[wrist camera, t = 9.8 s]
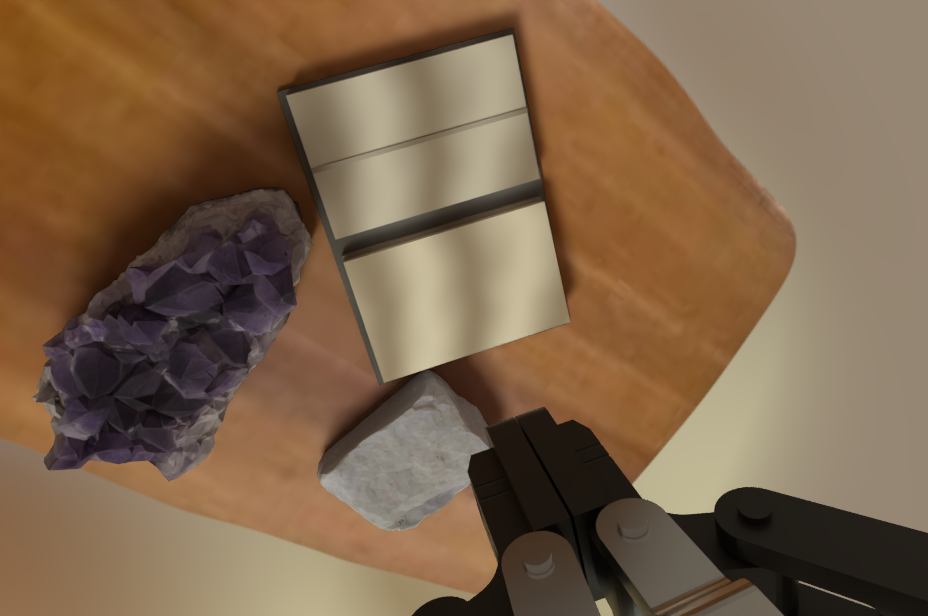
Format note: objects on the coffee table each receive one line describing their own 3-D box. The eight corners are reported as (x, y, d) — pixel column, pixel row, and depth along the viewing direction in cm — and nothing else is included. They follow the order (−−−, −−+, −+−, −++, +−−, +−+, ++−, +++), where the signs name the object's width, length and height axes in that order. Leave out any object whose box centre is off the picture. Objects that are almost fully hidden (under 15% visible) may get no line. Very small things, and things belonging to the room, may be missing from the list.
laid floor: (378, 383, 46) (380, 393, 44) (277, 91, 37) (275, 92, 36) (567, 321, 47) (575, 329, 46) (512, 28, 39) (520, 27, 37)
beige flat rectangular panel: (382, 376, 44) (384, 382, 43) (341, 254, 41) (341, 258, 40) (564, 316, 46) (570, 321, 45) (537, 195, 43) (543, 197, 42)
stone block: (495, 417, 52) (422, 354, 46) (518, 458, 48) (441, 395, 42) (389, 503, 53) (305, 453, 47) (402, 550, 49) (312, 501, 43)
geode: (186, 120, 37) (177, 152, 28) (345, 225, 43) (378, 277, 34) (11, 384, 39) (-45, 486, 31) (184, 448, 45) (177, 548, 37)
